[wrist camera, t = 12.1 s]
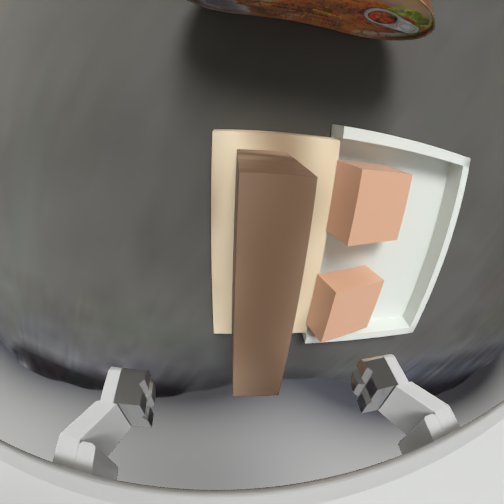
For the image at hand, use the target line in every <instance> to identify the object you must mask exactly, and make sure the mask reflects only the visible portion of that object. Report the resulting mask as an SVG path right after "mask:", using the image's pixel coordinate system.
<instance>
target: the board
mask: <svg viewBox="0 0 504 504" xmlns="http://www.w3.org/2000/svg"><path fill="white" fill-rule="evenodd" d="M237 149H249V150H269V151H283V152H287V153H288V154H289V155H291V156H292V157H293V158H295V159H296V160H297V161H298V162H300V163H301V164H302V165H303V166H305V167H306V168H307V169H308V170H310V171H311V172H312V173H313V174H314V175H316V176H317V177H318V179H317V187H316V195H315V202H314V209H313V216H312V223H311V230H310V237H309V243H308V249H307V255H306V262H305V267H304V273H303V279H302V285H301V290H300V296H299V301H298V306H297V312H296V317H295V322H294V327H293V332H292V333H304V332H306V331H307V327H308V325H307V324H306V322H307V318H308V314H309V310H310V305H311V301H312V297H313V292H314V288H315V284H316V279H317V274H319V273H320V268H321V263H322V258H323V253H324V248H325V242H326V237H327V231H326V228H327V222H328V217H329V211H330V205H331V199H332V193H333V187H334V180H335V173H336V166H337V160H338V158H339V149H340V140H337V139H334V138H331V137H323V136H315V135H306V134H297V133H286V132H273V131H257V130H232V129H214V130H213V133H212V177H211V252H212V297H213V324H214V333H215V334H232V279H233V240H234V209H235V182H236V158H237Z"/></svg>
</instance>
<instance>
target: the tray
mask: <svg viewBox="0 0 504 504" xmlns="http://www.w3.org/2000/svg"><path fill="white" fill-rule="evenodd" d="M331 138H334V139H337V140H340V149H339V158H338V160H344V161H355V162H364V163H373V164H381V165H388V166H391V167H394V168H396V169H399V170H402V171H404V172H407V173H409V174H412V180H411V185H410V190H409V194H408V199H407V203H406V207H405V212H404V216H403V220H402V223H401V227H400V231H399V235H398V238H397V240H392V241H385V242H377V243H369V244H362V245H354V246H346V245H345V244H344V243H342V242H341V241H340V240H338V239H337V238H336V237H334V236H333V235H332V234H330V233H329V232H328V231H327V237H326V242H325V248H324V253H323V258H322V263H321V268H320V273H319V274H321V273H327V272H332V271H337V270H343V269H348V268H353V267H358V266H363V265H366V266H367V267H368V268H370V269H371V270H372V271H373V272H375V273H376V274H377V275H378V276H380V277H381V278H382V279H383V280H384V283H383V286H382V289H381V292H380V294H379V297H378V300H377V303H376V305H375V308H374V311H373V313H372V316H371V318H370V321H369V323H368V326H367V328H364V329H361V330H358V331H356V332H353V333H350V334H347V335H344V336H341V337H338V338H335V339H332V340H329V341H326V342H333V341H345V340H356V339H366V338H375V337H383V336H391V335H398V334H405V333H412V332H413V331H414V329H415V327H416V325H417V323H418V321H419V319H420V316H421V314H422V312H423V310H424V308H425V306H426V303H427V301H428V299H429V296H430V294H431V292H432V289H433V287H434V285H435V282H436V280H437V277H438V274H439V272H440V269H441V266H442V264H443V261H444V258H445V255H446V252H447V250H448V247H449V244H450V240H451V237H452V234H453V231H454V228H455V224H456V221H457V217H458V213H459V210H460V206H461V202H462V198H463V194H464V189H465V185H466V180H467V175H468V170H469V164H470V158H467V157H465V156H462V155H459V154H456V153H453V152H450V151H447V150H444V149H441V148H437V147H434V146H431V145H427V144H424V143H420V142H416V141H413V140H409V139H405V138H401V137H397V136H392V135H388V134H384V133H379V132H374V131H369V130H364V129H359V128H353V127H348V126H342V125H335V124H332V128H331ZM302 334H303V337H304V341H305V343H320V341H319V340H318V338H317V337H316V336H315V335H314V333H313V332H312V331H311V329H310V328H309V327H307V331H306V332H304V333H302Z"/></svg>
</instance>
